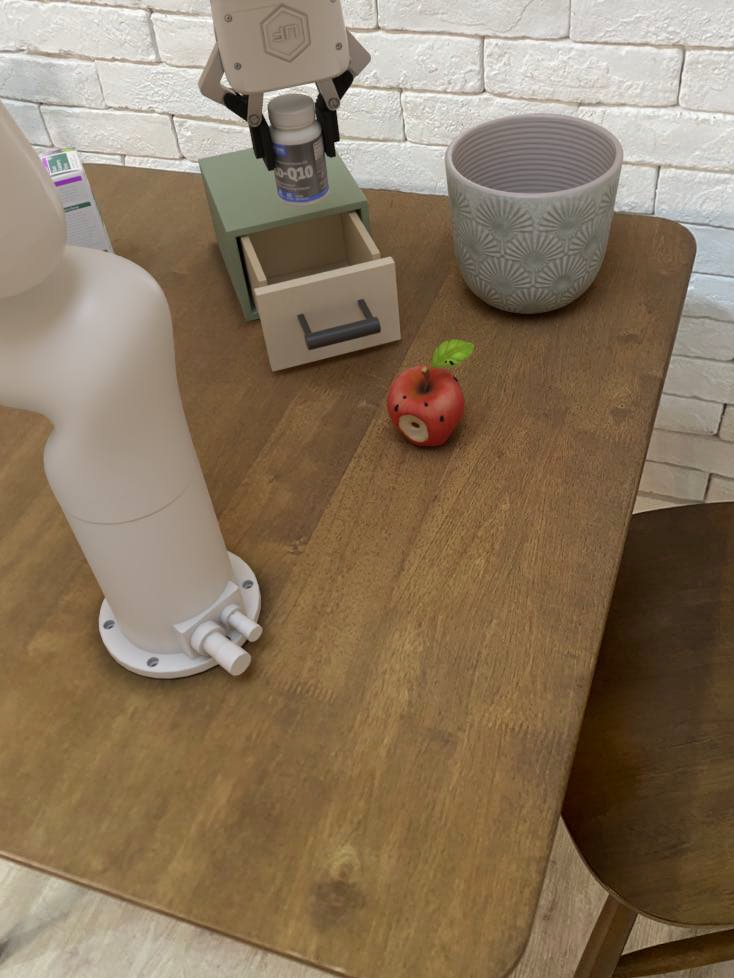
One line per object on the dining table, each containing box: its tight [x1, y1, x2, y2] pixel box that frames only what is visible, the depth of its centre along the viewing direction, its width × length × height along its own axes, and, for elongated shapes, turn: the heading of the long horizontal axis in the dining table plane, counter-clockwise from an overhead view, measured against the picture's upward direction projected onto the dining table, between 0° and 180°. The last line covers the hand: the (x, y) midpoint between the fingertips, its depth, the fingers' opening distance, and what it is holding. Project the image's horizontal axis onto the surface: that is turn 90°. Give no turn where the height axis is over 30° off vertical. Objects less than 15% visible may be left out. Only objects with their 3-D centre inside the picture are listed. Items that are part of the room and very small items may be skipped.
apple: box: [386, 338, 475, 447], centre depth 83 cm, size 8×7×10 cm
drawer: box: [237, 210, 402, 372], centre depth 94 cm, size 20×13×9 cm, turn 18°
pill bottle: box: [267, 92, 329, 207], centre depth 82 cm, size 5×5×8 cm
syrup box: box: [38, 147, 115, 254], centre depth 102 cm, size 6×6×14 cm
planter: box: [444, 112, 624, 315], centre depth 95 cm, size 17×17×15 cm
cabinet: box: [197, 147, 372, 323], centre depth 103 cm, size 17×15×11 cm
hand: (298, 155), depth 83 cm, fingers closed on pill bottle, 4 cm apart
